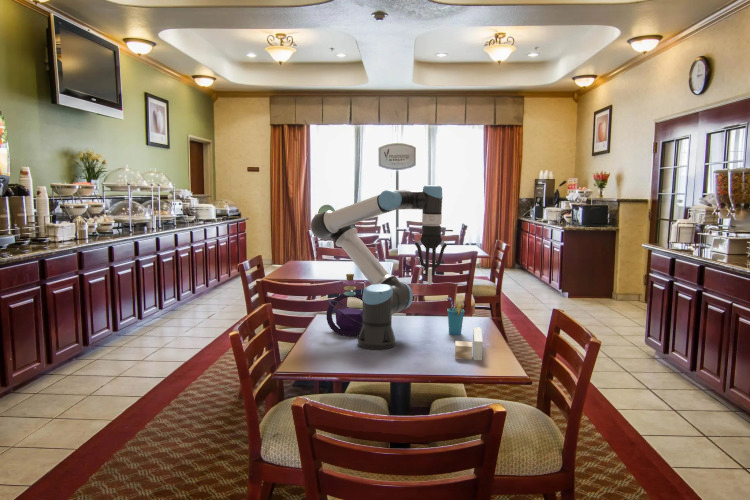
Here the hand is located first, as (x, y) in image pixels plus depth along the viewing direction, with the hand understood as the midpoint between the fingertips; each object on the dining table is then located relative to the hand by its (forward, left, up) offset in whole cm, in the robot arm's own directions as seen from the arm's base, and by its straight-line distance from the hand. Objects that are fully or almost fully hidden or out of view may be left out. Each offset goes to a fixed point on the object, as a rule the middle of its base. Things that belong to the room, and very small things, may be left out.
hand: (429, 284), depth 202 cm
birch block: (+14, -13, -25) cm, 31 cm away
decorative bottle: (-35, +11, -25) cm, 44 cm away
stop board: (+19, -6, -24) cm, 32 cm away
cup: (+10, +18, -25) cm, 32 cm away
